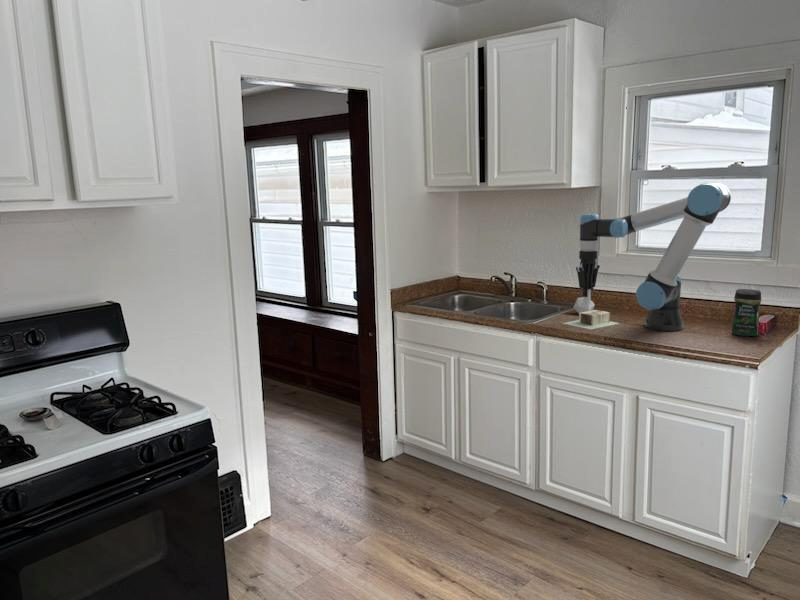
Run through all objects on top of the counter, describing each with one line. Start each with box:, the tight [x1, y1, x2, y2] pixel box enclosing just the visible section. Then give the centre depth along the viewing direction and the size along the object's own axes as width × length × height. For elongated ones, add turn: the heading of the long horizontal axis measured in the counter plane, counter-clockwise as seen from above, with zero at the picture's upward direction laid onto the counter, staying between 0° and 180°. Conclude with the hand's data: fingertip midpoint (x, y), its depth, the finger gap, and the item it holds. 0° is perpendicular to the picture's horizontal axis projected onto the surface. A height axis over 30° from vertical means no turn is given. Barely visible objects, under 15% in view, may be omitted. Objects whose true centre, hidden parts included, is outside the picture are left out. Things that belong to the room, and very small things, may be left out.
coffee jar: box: [731, 288, 763, 337], centre depth 263 cm, size 10×8×19 cm
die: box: [573, 296, 596, 315], centre depth 311 cm, size 8×9×10 cm
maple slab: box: [578, 309, 611, 326], centre depth 291 cm, size 8×4×11 cm
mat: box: [562, 319, 620, 330], centre depth 290 cm, size 16×19×1 cm
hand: (586, 303), depth 287 cm, fingers closed
